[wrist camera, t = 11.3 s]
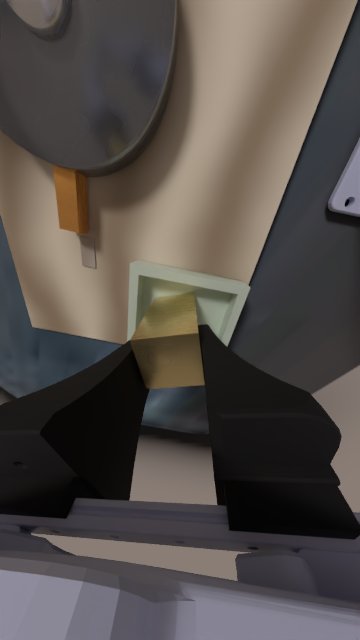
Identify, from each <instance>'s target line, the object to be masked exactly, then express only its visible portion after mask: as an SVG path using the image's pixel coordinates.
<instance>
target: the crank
mask: <svg viewBox="0 0 360 640" xmlns="http://www.w3.org/2000/svg"><path fill="white" fill-rule="evenodd" d="M177 47H178V2H177V0H0V130H1V131H2V132H3V133H4V134H5V135H7V136H8V137H9V138H10V139H11V140H13V141H14V142H15V143H16V144H17V145H19V146H20V147H22V148H23V149H25V150H26V151H28V152H29V153H31V154H33V155H35V156H37V157H39V158H40V159H42V160H44V161H46V162H48V163H50V164H52V165H53V173H54V182H55V191H56V200H57V209H58V218H59V228H60V229H64V230H68V231H72V232H76V233H84V234H88V214H87V187H86V177H101V176H107V175H110V174H113V173H116V172H118V171H120V170H122V169H123V168H125V167H127V166H128V165H129V164H131V163H132V162H133V161H134V160H135V159H137V158H138V157H139V155H140V154H141V153H142V152H143V151H144V150H145V149H146V147H147V146H148V144H149V143H150V141H151V140H152V138H153V137H154V135H155V133H156V131H157V129H158V127H159V125H160V123H161V120H162V118H163V115H164V112H165V110H166V107H167V104H168V100H169V96H170V93H171V89H172V84H173V79H174V73H175V67H176V58H177Z"/></svg>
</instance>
